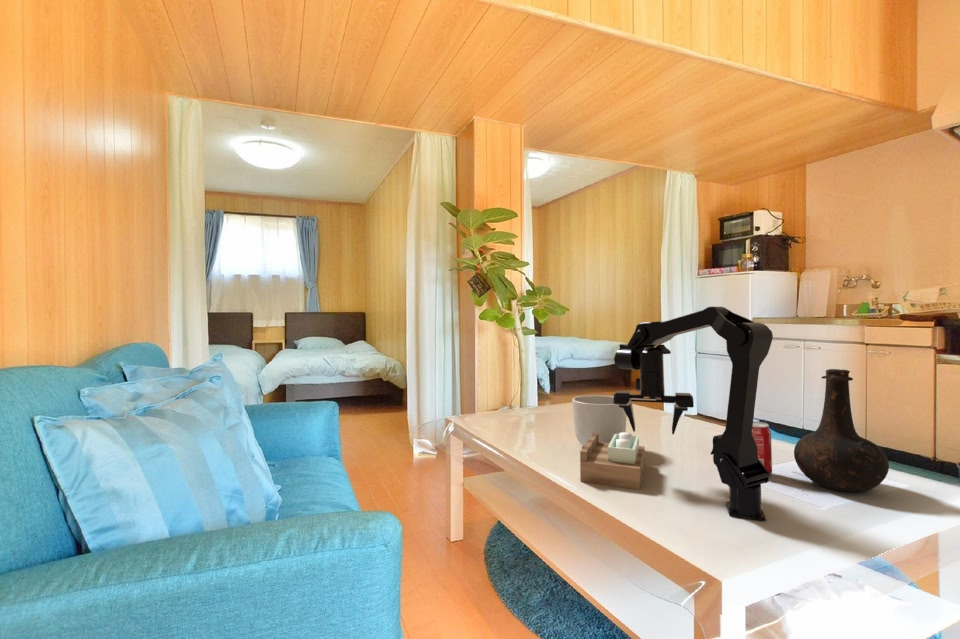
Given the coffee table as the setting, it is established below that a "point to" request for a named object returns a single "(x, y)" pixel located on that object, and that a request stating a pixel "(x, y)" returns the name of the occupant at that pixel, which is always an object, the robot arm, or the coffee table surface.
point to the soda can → (763, 443)
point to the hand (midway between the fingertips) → (653, 432)
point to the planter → (597, 417)
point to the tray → (623, 448)
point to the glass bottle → (840, 445)
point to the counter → (609, 466)
